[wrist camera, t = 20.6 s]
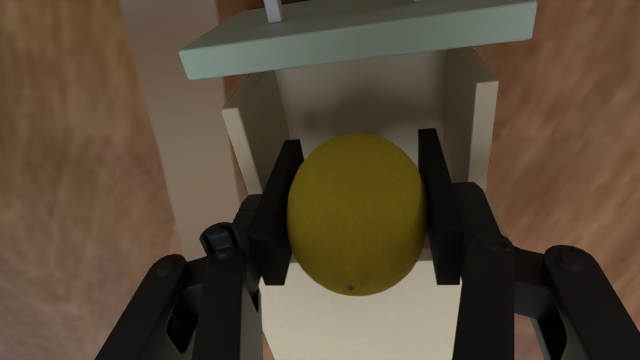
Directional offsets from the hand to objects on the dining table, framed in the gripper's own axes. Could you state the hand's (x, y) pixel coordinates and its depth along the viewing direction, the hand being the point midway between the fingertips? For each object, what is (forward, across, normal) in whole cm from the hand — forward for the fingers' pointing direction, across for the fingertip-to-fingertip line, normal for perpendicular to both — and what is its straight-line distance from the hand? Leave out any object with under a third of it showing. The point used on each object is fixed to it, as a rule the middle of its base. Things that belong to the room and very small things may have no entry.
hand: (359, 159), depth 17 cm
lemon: (+1, 0, 0) cm, 1 cm away
